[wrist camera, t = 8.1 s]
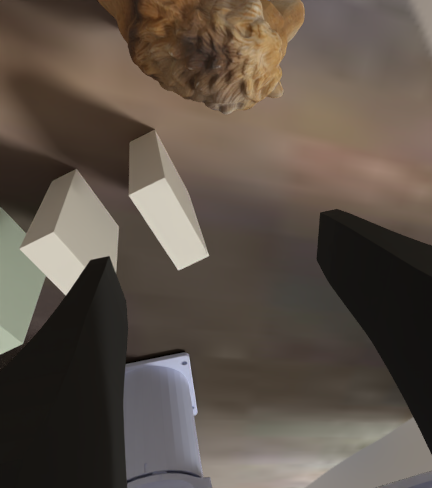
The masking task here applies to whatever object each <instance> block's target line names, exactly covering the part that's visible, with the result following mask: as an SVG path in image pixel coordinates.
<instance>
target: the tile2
mask: <svg viewBox="0 0 432 488" xmlns="http://www.w3.org/2000/svg"><path fill="white" fill-rule="evenodd" d="M118 233H119V226H118V225H117V224H116V222H115V221H114V219H113V218H112V217H111V215H110V214H109V213H108V211H107V210H106V208H105V207H104V206H103V204H102V203H101V202H100V200H99V199H98V197H97V196H96V195H95V193H94V192H93V191H92V189H91V188H90V187H89V185H88V184H87V182H86V181H85V180H84V178H83V177H82V176H81V174H80V173H79V171H78V170H77V169H75V170H73V171H71V172H69V173H67V174H65V175H63V176H61V177H59V178H57V179H55V180H53V181H52V182H51V184H50V186H49V188H48V190H47V192H46V195H45V197H44V199H43V201H42V203H41V205H40V207H39V209H38V211H37V213H36V215H35V217H34V219H33V221H32V223H31V226H30V228H29V230H28V232H27V234H26V236H25V238H24V240H23V242H22V244H21V246H20V248H19V249H20V250H21V251H22V252H23V253H24V254H25V255H26V256H27V257H28V258H29V259H30V260H31V261H32V262H33V263H34V264H35V265H36V266H37V267H38V268H39V269H40V270H41V271H42V272H43V273H44V274H45V275H46V276H47V277H48V278H49V279H50V280H51V281H52V282H53V283H54V284H55V285H56V286H57V287H58V288H59V289H60V290H61V291H62V292H63V293H64V294H65V295H67V293H68V292H69V291H70V289H71V288H72V286H73V285H74V283H75V282H76V280H77V279H78V277H79V276H80V274H81V273H82V271H83V270H84V268H85V267H86V266H87V264H88V263H89V261H90V260H92V259H97V258H102V257H107V256H110V259H111V261H112V264H113V267H114V270H115V272H116V266H117V249H118Z"/></svg>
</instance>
